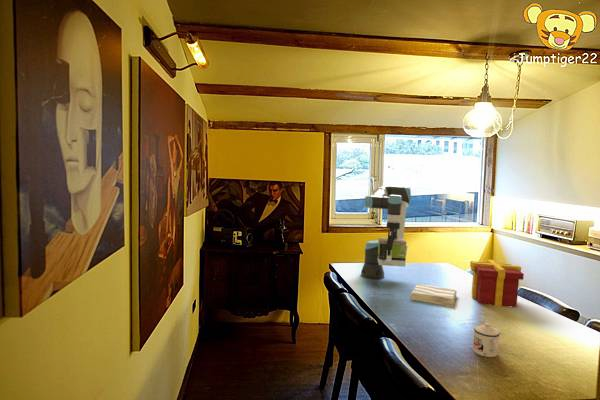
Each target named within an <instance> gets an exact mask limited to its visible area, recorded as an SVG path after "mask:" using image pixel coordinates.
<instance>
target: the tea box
mask: <svg viewBox="0 0 600 400" xmlns="http://www.w3.org/2000/svg"><path fill="white" fill-rule="evenodd" d="M387 239H388V237H378V240H379V241H378V263H379V265H382V266H387V267H389V266H390V267H403V268H404V267H405V268H406V257H407V253H406V246H407V241H406V240H405V238H403V239H394V240H393V245H392V259H391V261H386V258H387V250H386V247H387Z"/></svg>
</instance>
